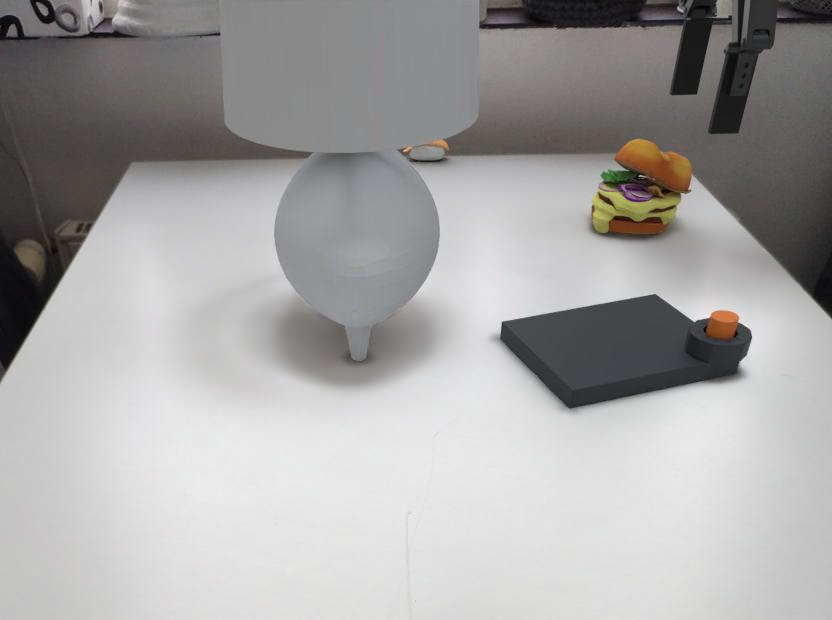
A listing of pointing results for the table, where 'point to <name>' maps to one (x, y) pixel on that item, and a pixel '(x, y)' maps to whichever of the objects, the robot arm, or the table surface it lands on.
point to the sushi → (428, 151)
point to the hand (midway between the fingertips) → (701, 112)
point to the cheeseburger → (641, 190)
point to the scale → (621, 349)
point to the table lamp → (352, 136)
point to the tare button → (722, 324)
